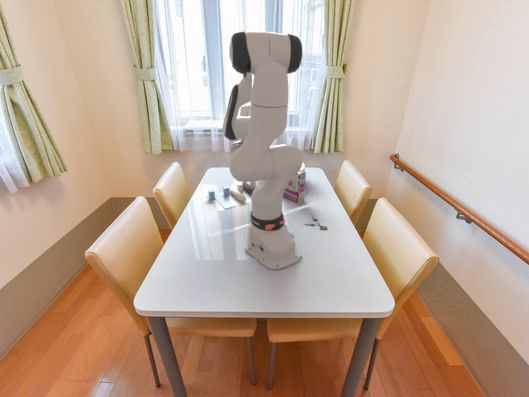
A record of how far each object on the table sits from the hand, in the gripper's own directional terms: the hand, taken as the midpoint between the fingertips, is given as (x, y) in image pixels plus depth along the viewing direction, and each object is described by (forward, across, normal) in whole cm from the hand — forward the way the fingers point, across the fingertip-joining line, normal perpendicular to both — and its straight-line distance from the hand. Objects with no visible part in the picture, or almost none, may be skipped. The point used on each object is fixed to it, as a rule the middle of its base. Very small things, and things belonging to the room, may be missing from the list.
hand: (250, 166), depth 134 cm
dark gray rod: (+15, 0, 0) cm, 15 cm away
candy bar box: (+16, +16, -16) cm, 28 cm away
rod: (+15, -8, 0) cm, 17 cm away
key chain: (+16, +10, -39) cm, 43 cm away
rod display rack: (+16, -8, 0) cm, 18 cm away
